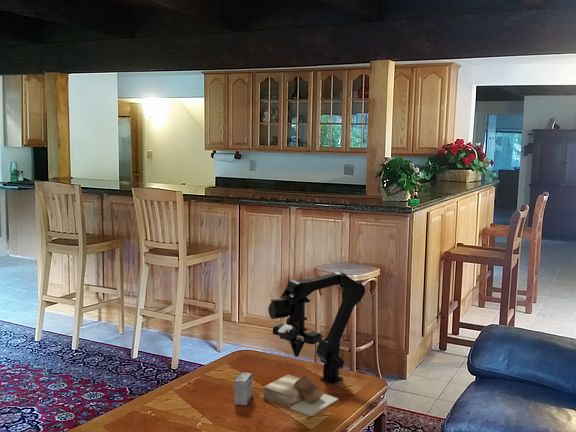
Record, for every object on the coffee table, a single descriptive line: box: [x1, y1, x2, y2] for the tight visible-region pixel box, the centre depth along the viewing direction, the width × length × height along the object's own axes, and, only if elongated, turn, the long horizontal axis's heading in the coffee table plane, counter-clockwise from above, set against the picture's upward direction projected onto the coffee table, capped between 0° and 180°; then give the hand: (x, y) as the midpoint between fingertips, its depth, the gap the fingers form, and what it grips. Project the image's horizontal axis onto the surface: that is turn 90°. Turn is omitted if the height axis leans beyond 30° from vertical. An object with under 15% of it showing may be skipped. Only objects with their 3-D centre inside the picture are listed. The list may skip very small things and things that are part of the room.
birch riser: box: [263, 374, 305, 408], centre depth 214 cm, size 14×12×4 cm
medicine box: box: [233, 372, 253, 406], centre depth 210 cm, size 8×4×9 cm, turn 168°
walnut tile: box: [293, 374, 325, 405], centre depth 210 cm, size 9×6×2 cm
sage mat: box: [289, 393, 339, 417], centre depth 208 cm, size 16×9×1 cm, turn 142°
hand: (296, 356), depth 220 cm, fingers closed
